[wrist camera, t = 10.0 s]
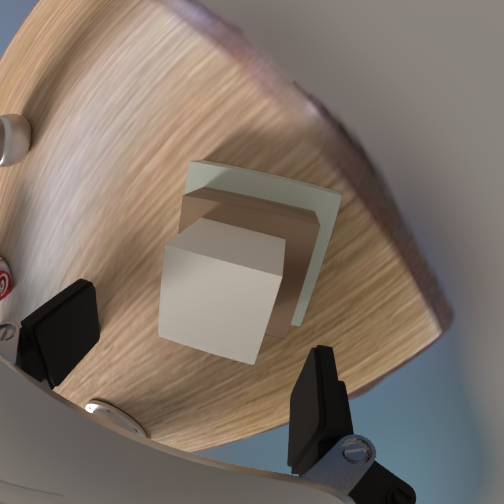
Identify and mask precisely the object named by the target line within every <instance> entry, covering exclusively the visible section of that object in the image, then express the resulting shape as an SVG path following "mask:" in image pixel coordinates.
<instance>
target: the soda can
mask: <svg viewBox="0 0 504 504" xmlns="http://www.w3.org/2000/svg"><path fill="white" fill-rule="evenodd" d="M11 291H12V275H11V271H10V269H9V267H8V265H7V263H6V262H5V260H4V259H2V258H1V257H0V300H2V299H3V298H5V297H6V296H7V295H8V294H9V293H10V292H11Z"/></svg>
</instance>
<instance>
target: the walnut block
mask: <svg viewBox="0 0 504 504" xmlns="http://www.w3.org/2000/svg"><path fill="white" fill-rule="evenodd" d="M200 218H205V219H209V220H213V221H217V222H221V223H225V224H229V225H233V226H237V227H240V228H244V229H248V230H252V231H256V232H260V233H264V234H267V235H271V236H275V237H279V238H282V239H286V242H285V254H284V265H283V276H282V280H281V283H280V286H279V290H278V293H277V296H276V299H275V302H274V306H273V309H272V312H271V315H270V318H269V321H268V324H267V327H266V330H265V335H270V336H274V337H279V338H283V339H286V336H287V333H288V331H289V328H290V325H291V322H292V319H293V316H294V313H295V309H296V306H297V303H298V300H299V297H300V294H301V291H302V287H303V284H304V281H305V278H306V274H307V271H308V268H309V264H310V261H311V257H312V254H313V251H314V247H315V243H316V240H317V236H318V233H319V229H320V223H319V221H318V218H317V216H316V213H315V211H312V210H308V209H304V208H300V207H296V206H292V205H287V204H283V203H279V202H274V201H270V200H266V199H261V198H257V197H252V196H247V195H243V194H238V193H233V192H228V191H223V190H218V189H213V188H208V187H202V188H199V189H197V190H194V191H192V192H190V193H187V194H185V195H183V200H182V208H181V216H180V224H179V233H181V232H182V231H183V230H185V229H186V228H188V227H189V226H190V225H192V224H193V223H194V222H196V221H197V220H198V219H200ZM179 233H178V234H179Z"/></svg>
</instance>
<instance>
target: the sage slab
mask: <svg viewBox="0 0 504 504" xmlns="http://www.w3.org/2000/svg"><path fill="white" fill-rule="evenodd" d="M202 187H208V188H213V189H218V190H223V191H228V192H233V193H238V194H243V195H247V196H252V197H257V198H261V199H266V200H270V201H274V202H279V203H283V204H287V205H292V206H296V207H300V208H304V209H308V210H312V211H315V213H316V216H317V218H318V221H319V223H320V229H319V233H318V236H317V240H316V243H315V247H314V251H313V254H312V257H311V261H310V264H309V268H308V271H307V274H306V278H305V281H304V284H303V287H302V291H301V294H300V297H299V300H298V303H297V306H296V309H295V313H294V316H293V319H292V322H291V325H294V326H299V327H300V326H301V323H302V321H303V318H304V315H305V312H306V310H307V307H308V304H309V301H310V298H311V295H312V293H313V290H314V287H315V284H316V281H317V278H318V275H319V272H320V269H321V266H322V263H323V260H324V257H325V253H326V250H327V247H328V244H329V241H330V237H331V234H332V231H333V227H334V224H335V221H336V217H337V214H338V210H339V207H340V203H341V199H342V195H341V194H339V193H338V192H337V191H336V190H332V189H329V188H325V187H321V186H318V185H314V184H310V183H306V182H302V181H299V180H295V179H291V178H286V177H282V176H278V175H274V174H270V173H265V172H261V171H256V170H252V169H247V168H242V167H237V166H232V165H227V164H222V163H217V162H211V161H206V160H196V161H190V162H189V167H188V173H187V179H186V186H185V192H184V195H185V194H187V193H190V192H192V191H194V190H197V189H199V188H202Z"/></svg>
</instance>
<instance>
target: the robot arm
mask: <svg viewBox="0 0 504 504" xmlns="http://www.w3.org/2000/svg"><path fill="white" fill-rule="evenodd" d="M21 325H22V327H21V328H20V329H19V327H18V325H17V324H16V323H14V322H10V321H6V322H2V323H0V504H415V503H416V494H415V491H414V490H413V488H412V487H411V486H410V485H408V484H407V483H406V482H404V481H403V480H401V479H400V478H398V477H397V476H395V475H394V474H393V473H391V472H390V471H388V470H387V469H386V468H384V467H383V466H381V465H380V464H379V463H377V462H376V461H375V458H376V449H375V447H374V445H373V444H372V442H371V441H370V440H368V439H367V438H365V437H363V436H361V435H356V434H354V433H353V426H352V420H351V413H350V408H349V402H348V396H347V391H346V385H345V383H344V382H343V381H338V376H337V370H336V364H335V359H334V353H333V349H332V347H328V346H322V345H318V346H317V347H316V348H312V349H311V350H310V353H309V355H308V357H307V360H306V362H305V364H304V367H303V369H302V371H301V373H300V376H299V378H298V380H297V382H296V384H295V386H294V389H293V391H292V393H291V398H290V422H289V444H288V462H287V464H288V466H291V467H292V472H291V473H292V474H299V477H297V476H293V475H288V474H282V473H277V472H271V471H266V470H260V469H254V468H249V467H244V466H239V465H234V464H230V463H226V462H222V461H217V460H213V459H210V458H206V457H202V456H199V455H195V454H192V453H188V452H185V451H182V450H179V449H176V448H173V447H170V446H167V445H164V444H161V443H158V442H156V441H153V440H150V439H148V438H147V436H146V433H145V431H144V430H143V429H142V427H141V426H140V425H139V424H138V423H137V422H135V421H134V420H133V419H132V418H131V417H129V416H128V415H127V414H125V413H124V412H122V411H121V410H119V409H117V408H115V407H113V406H111V405H109V404H107V403H104V402H101V401H97V400H92V401H89V402H88V404H87V405H86V410H85V409H83V408H81V407H79V406H78V405H76V404H74V403H72V402H71V401H69V400H67V399H65V398H64V397H62V396H60V395H59V394H57V393H56V392H54V391H52V390H53V388H54V387H55V386H59V385H60V384H61V383H62V381H63V380H64V379H65V378H66V377H67V376H68V375H69V373H70V372H71V371H72V370H73V369H74V368H75V367H76V365H77V364H78V363H79V362H80V361H81V360H82V359H83V358H84V356H85V355H86V354H87V353H88V352H89V351H90V350H91V349H92V348H93V346H94V345H95V344H96V343H97V342H98V341H99V338H100V330H99V322H98V313H97V303H96V291H95V287H94V286H93V284H92V283H91V282H89V281H87V280H84V279H79V280H77V281H76V282H74V283H73V284H71V285H70V286H68V287H67V288H66V289H64V290H63V291H61V292H60V293H59V294H57V295H56V296H54V297H53V298H52V299H50V300H49V301H48V302H46V303H45V304H43V305H42V306H41V307H39V308H38V309H37V310H35V311H34V312H33V313H31V314H30V315H29V316H28V317H26V318H25V319H24V320H22V321H21Z"/></svg>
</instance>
